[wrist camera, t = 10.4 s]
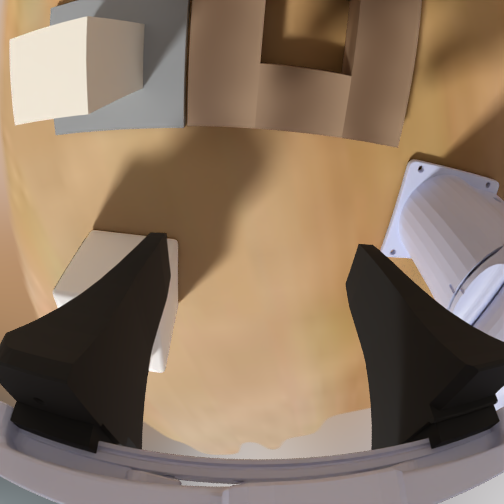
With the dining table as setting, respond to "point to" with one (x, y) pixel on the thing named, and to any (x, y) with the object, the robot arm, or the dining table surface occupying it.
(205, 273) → the dining table surface
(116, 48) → the peg
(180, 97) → the mat
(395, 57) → the pocket block
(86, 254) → the white bottle
